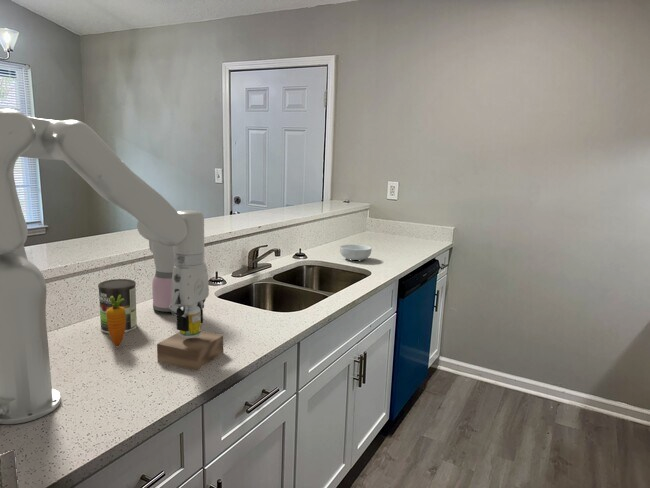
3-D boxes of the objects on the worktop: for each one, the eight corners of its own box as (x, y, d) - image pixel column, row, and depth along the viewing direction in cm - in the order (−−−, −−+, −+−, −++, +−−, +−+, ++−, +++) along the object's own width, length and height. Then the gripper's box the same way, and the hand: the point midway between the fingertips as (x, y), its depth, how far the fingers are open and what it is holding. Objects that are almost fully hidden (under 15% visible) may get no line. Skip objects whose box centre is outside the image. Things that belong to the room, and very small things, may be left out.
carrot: (122, 341, 128) (119, 290, 125) (130, 346, 125) (128, 294, 122) (104, 346, 124) (101, 294, 122) (113, 352, 121) (110, 298, 119)
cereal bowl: (374, 258, 247) (375, 246, 246) (364, 264, 232) (365, 251, 231) (346, 255, 254) (346, 242, 253) (334, 260, 239) (335, 247, 238)
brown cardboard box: (196, 370, 113) (196, 352, 112) (157, 362, 117) (156, 343, 116) (223, 352, 124) (223, 335, 123) (186, 344, 128) (186, 328, 127)
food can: (117, 336, 132) (114, 290, 129) (92, 329, 136) (90, 284, 133) (145, 325, 141) (143, 281, 138) (121, 319, 145) (119, 277, 142)
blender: (198, 307, 159) (196, 217, 153) (171, 317, 148) (168, 221, 142) (165, 299, 166) (163, 212, 160) (138, 308, 155) (134, 216, 149)
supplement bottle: (205, 334, 120) (204, 299, 118) (188, 340, 115) (187, 304, 114) (192, 329, 123) (191, 295, 121) (175, 335, 118) (174, 299, 117)
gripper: (180, 267, 106) (181, 340, 109) (220, 254, 122) (220, 318, 125) (153, 264, 109) (156, 335, 112) (197, 251, 124) (197, 314, 128)
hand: (190, 325), depth 119 cm, fingers closed on supplement bottle, 5 cm apart
